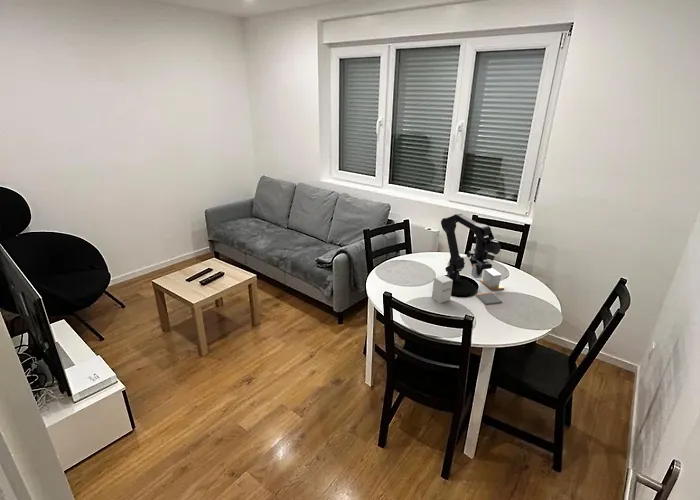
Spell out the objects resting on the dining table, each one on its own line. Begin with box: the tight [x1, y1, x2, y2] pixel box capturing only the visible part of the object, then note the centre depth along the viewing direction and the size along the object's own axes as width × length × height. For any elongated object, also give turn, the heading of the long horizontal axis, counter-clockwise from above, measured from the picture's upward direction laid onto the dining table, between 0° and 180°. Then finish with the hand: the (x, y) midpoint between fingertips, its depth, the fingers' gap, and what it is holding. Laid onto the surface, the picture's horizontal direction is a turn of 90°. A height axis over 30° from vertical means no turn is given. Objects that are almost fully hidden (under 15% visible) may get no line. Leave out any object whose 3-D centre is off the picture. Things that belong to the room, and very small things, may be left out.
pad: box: [475, 291, 503, 306], centre depth 211 cm, size 10×10×1 cm
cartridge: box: [471, 263, 483, 279], centre depth 213 cm, size 4×4×7 cm
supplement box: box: [431, 274, 453, 304], centre depth 208 cm, size 7×7×13 cm
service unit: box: [479, 267, 505, 292], centre depth 224 cm, size 8×12×9 cm, turn 14°
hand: (476, 273), depth 214 cm, fingers closed on cartridge, 4 cm apart
